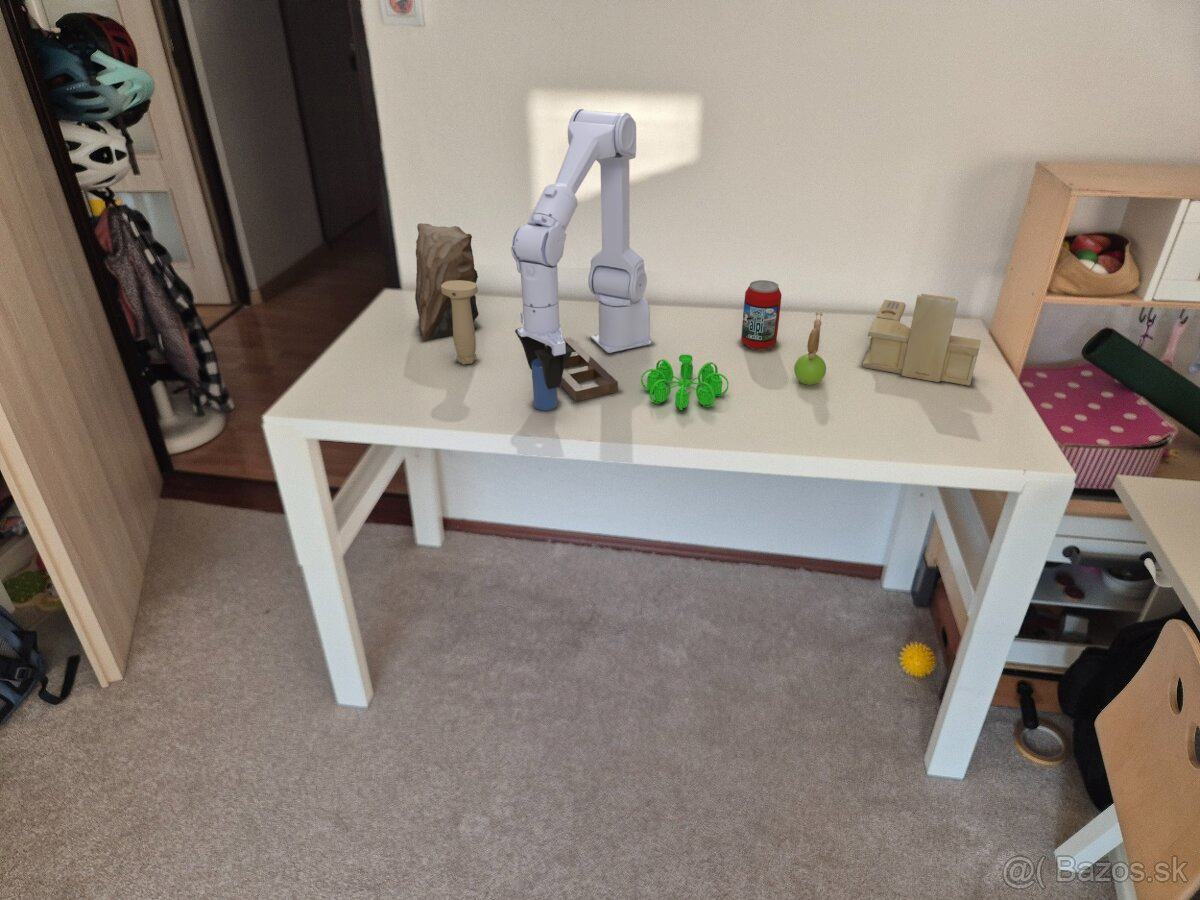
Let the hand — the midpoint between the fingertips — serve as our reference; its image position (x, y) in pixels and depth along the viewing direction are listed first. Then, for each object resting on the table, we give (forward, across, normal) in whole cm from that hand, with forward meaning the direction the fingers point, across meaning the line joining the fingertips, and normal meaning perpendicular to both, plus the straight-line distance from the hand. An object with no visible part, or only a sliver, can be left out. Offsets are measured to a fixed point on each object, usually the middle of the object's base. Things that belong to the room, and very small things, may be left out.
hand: (544, 377), depth 140 cm
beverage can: (+6, -4, +46) cm, 46 cm away
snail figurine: (+5, +13, +45) cm, 47 cm away
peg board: (+5, -9, +9) cm, 14 cm away
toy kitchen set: (+6, +15, +69) cm, 71 cm away
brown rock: (+5, -39, -7) cm, 40 cm away
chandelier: (+5, +7, +23) cm, 25 cm away
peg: (+5, 0, 0) cm, 5 cm away
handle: (+5, -22, -7) cm, 24 cm away
